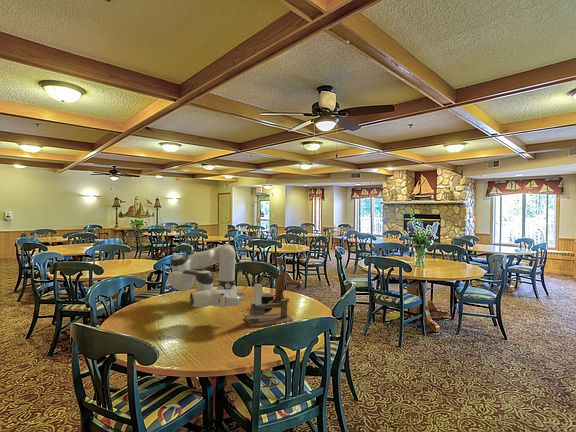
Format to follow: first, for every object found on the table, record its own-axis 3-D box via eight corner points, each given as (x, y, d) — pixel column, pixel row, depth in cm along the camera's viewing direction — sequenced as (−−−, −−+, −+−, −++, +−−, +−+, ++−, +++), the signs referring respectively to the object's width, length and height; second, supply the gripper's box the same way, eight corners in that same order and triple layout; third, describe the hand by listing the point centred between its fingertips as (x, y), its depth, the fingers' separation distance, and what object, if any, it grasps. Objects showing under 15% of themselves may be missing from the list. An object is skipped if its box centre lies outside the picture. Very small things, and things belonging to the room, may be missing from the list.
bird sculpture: (284, 306, 224) (286, 259, 223) (268, 303, 228) (270, 257, 227) (289, 301, 235) (292, 257, 234) (274, 299, 239) (276, 255, 238)
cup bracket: (244, 318, 197) (245, 298, 197) (286, 315, 205) (286, 295, 204) (249, 328, 182) (250, 306, 181) (294, 324, 189) (294, 303, 189)
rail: (253, 311, 192) (254, 284, 192) (259, 310, 193) (260, 283, 193) (255, 313, 189) (255, 285, 188) (261, 312, 190) (261, 285, 189)
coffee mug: (261, 312, 208) (261, 297, 208) (259, 308, 216) (259, 293, 216) (279, 311, 211) (279, 296, 211) (276, 307, 220) (276, 292, 219)
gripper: (218, 298, 194) (241, 296, 198) (222, 308, 174) (247, 306, 178) (218, 287, 194) (241, 286, 198) (222, 296, 174) (248, 295, 178)
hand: (244, 296), depth 188 cm, fingers open, 8 cm apart
